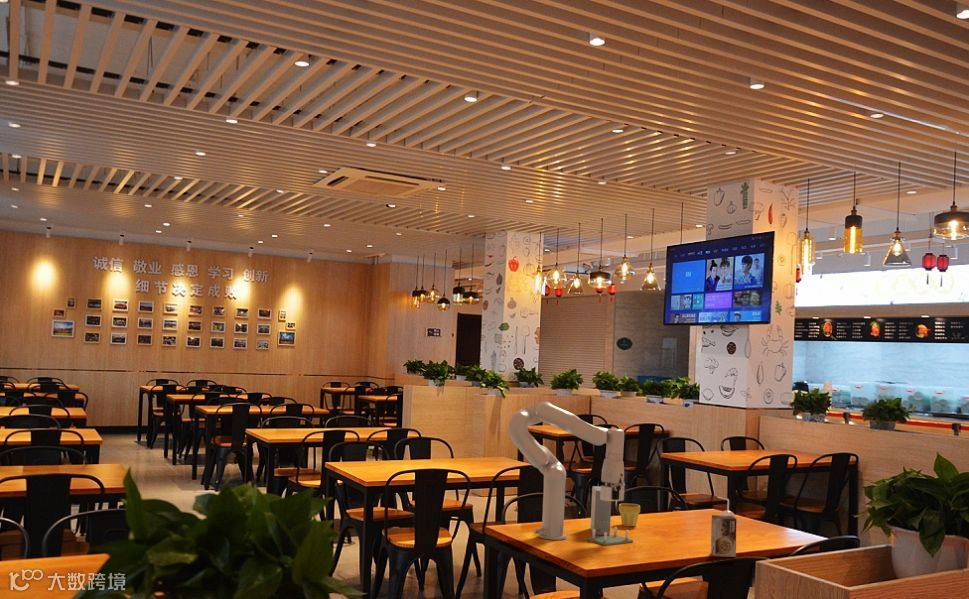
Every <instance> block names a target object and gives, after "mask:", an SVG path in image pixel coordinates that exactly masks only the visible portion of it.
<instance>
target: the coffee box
mask: <svg viewBox="0 0 969 599" xmlns="http://www.w3.org/2000/svg"><path fill="white" fill-rule="evenodd" d="M736 518H737V517H736V516H735V517H733V516H724V515H720V514H712V515H711V527H710V528H711V529H710V530H711V532H710V533H711V534H710V535H711V536H710V553H711V555H712V556H714V557H727V558H729V557H730V558H731V557H732V558H735V557H737V521H738V518H737V519H736Z"/></svg>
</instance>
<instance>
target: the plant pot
mask: <svg viewBox="0 0 969 599" xmlns="http://www.w3.org/2000/svg"><path fill="white" fill-rule="evenodd" d="M618 512H619V515H620V519H621V525H622V526H623V525H624V527H629V526H634V527H636V526H637V522H638V519H639V514H640V513H641V506H640V504H636V503H619V504H618Z"/></svg>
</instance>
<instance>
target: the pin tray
mask: <svg viewBox="0 0 969 599" xmlns="http://www.w3.org/2000/svg"><path fill="white" fill-rule="evenodd" d="M617 531H618V527H617V526H614V527H613V534H612V535H607V533H604V535H601V536H597V537H596V534H595V529H593V532H592V537H587V540H588V542H591V543H594V542H595V543H594V544H597V543H598V545H600V546H605V547H607V546H606V545H608V546H613V545H614V544H616V545H623V544H622V543H624V544H631V543H630V542H632V543H634V540H633V539H630V538H629V531H630V530H628V529H626V530H625V537H623V536H619V535H618V534H617V533H618V532H617Z"/></svg>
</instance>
